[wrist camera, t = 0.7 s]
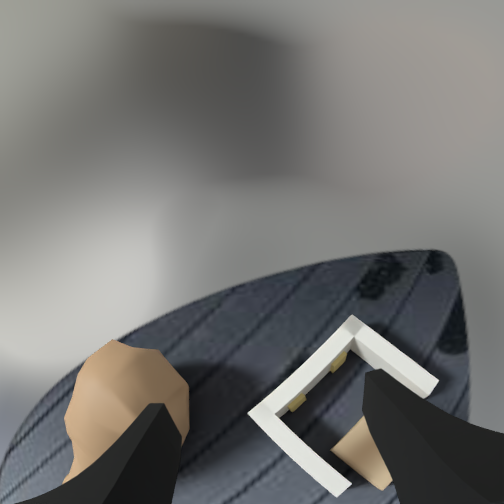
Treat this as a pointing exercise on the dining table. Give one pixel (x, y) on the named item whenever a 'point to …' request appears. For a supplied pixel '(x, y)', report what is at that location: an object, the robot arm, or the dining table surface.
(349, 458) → the door panel
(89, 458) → the squash
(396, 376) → the cabinet frame
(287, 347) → the dining table surface
